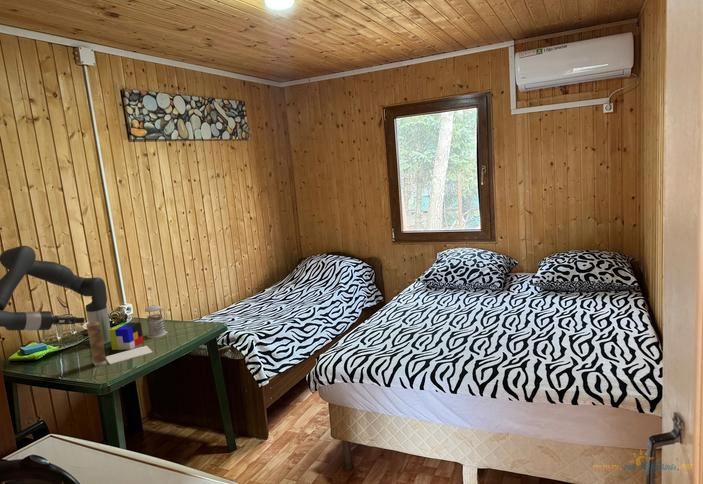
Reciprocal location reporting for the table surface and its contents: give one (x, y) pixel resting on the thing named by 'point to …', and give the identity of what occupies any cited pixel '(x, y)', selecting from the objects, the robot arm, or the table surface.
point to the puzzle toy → (126, 336)
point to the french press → (153, 329)
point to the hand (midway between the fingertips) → (80, 319)
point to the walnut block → (96, 343)
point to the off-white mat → (128, 355)
